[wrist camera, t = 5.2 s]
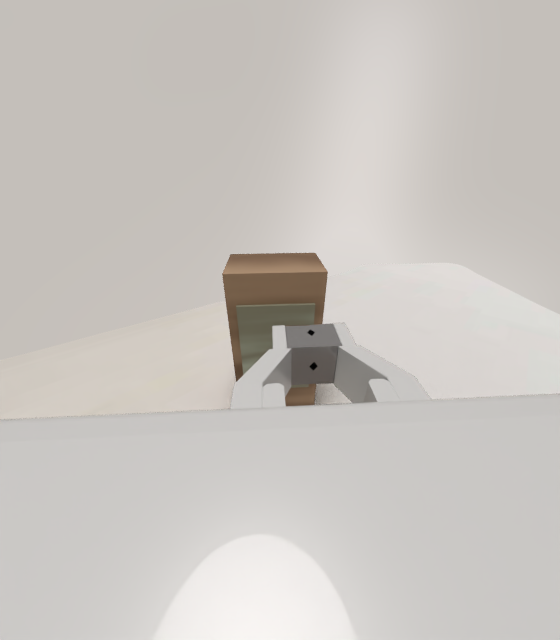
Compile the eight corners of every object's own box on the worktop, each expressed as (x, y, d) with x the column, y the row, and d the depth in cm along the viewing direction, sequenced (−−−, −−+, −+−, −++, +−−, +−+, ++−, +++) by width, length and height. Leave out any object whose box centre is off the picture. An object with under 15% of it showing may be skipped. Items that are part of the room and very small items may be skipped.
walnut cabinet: (313, 412, 20) (328, 273, 14) (240, 416, 20) (221, 275, 13) (306, 376, 24) (314, 252, 17) (243, 378, 23) (230, 254, 17)
